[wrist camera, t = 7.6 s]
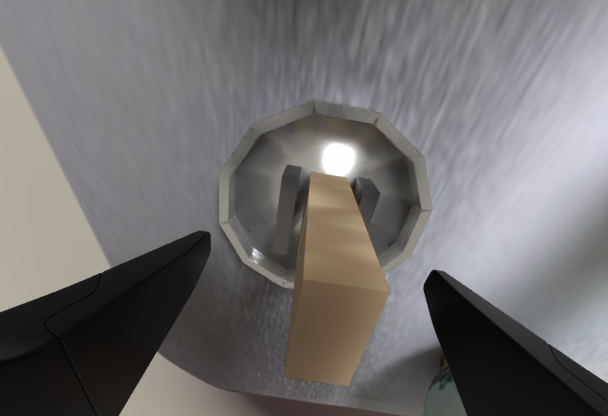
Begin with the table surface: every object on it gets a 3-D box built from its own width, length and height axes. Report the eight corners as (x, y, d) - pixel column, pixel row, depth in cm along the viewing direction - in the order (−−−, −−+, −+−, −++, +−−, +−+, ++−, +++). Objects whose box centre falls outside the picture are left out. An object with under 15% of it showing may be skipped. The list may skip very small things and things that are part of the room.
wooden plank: (347, 177, 12) (390, 291, 5) (331, 238, 14) (348, 386, 7) (310, 171, 12) (302, 279, 5) (299, 233, 14) (283, 377, 7)
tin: (451, 125, 11) (484, 132, 9) (381, 285, 16) (391, 315, 14) (231, 83, 11) (210, 80, 9) (227, 260, 16) (213, 287, 14)
